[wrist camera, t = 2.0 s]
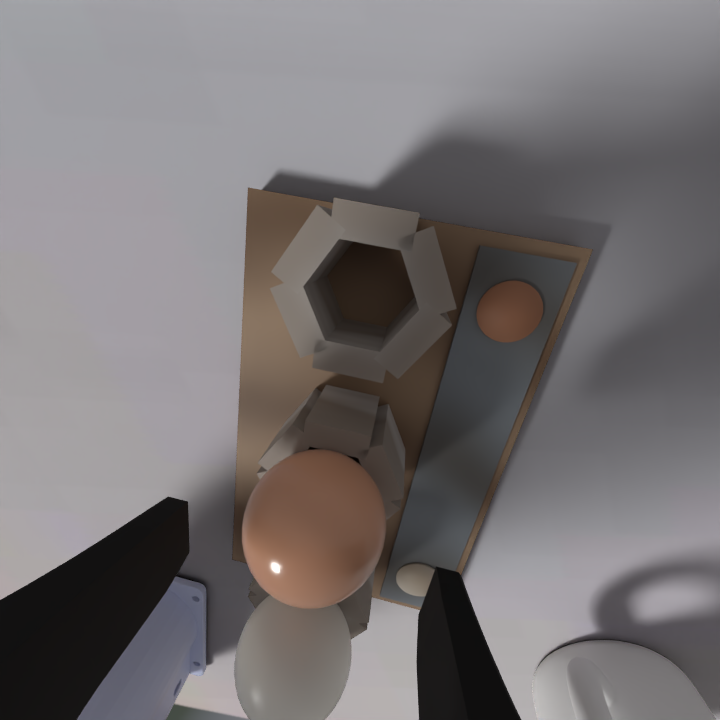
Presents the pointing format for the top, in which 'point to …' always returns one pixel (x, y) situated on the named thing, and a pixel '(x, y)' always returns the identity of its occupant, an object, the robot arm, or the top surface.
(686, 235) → the top surface
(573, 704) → the mug
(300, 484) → the terracotta ball
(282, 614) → the cream ball
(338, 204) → the brown egg holder tray
